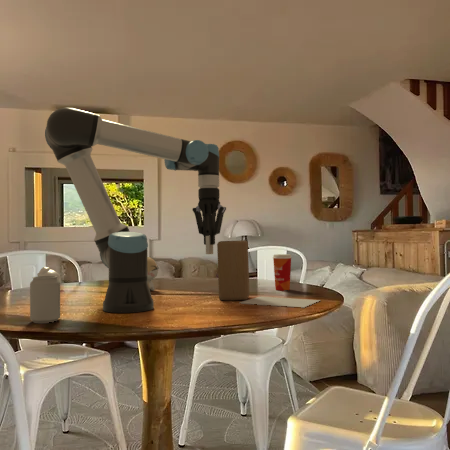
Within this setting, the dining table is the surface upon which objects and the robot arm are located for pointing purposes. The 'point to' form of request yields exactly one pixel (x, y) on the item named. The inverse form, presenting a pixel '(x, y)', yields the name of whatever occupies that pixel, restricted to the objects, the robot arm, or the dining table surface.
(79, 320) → the dining table surface
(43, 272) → the ghost figurine
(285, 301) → the felt mat
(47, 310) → the can
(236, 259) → the block
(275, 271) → the paper cup
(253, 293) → the dining table surface
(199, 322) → the dining table surface
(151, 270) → the kitten
